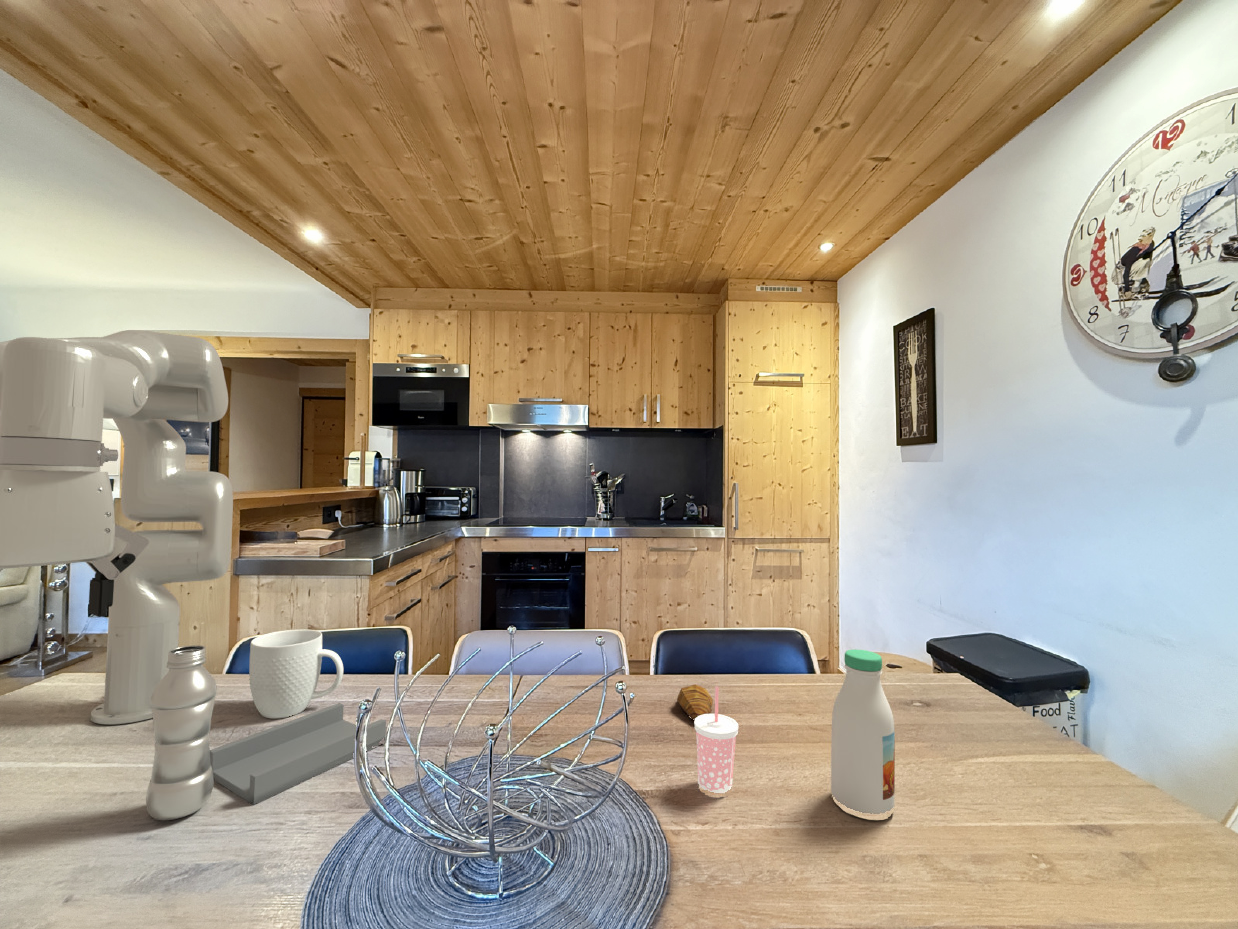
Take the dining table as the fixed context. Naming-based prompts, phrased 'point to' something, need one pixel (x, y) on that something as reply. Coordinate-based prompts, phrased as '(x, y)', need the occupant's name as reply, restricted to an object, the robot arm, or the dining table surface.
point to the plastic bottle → (182, 736)
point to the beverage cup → (715, 749)
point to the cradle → (289, 753)
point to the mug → (288, 671)
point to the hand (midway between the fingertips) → (42, 622)
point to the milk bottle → (863, 738)
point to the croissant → (695, 701)
